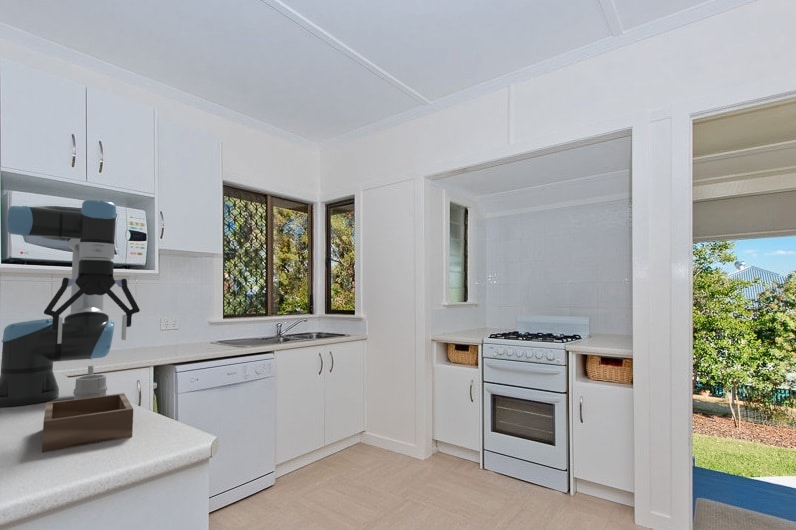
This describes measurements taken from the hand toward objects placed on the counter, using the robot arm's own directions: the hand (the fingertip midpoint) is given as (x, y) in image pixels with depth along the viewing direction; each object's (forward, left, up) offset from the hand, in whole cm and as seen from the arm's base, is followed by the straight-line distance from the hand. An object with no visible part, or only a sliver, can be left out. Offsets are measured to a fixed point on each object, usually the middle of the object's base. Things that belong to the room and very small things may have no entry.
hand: (92, 341), depth 111 cm
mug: (-2, 0, -19) cm, 19 cm away
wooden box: (+16, -1, -19) cm, 25 cm away
